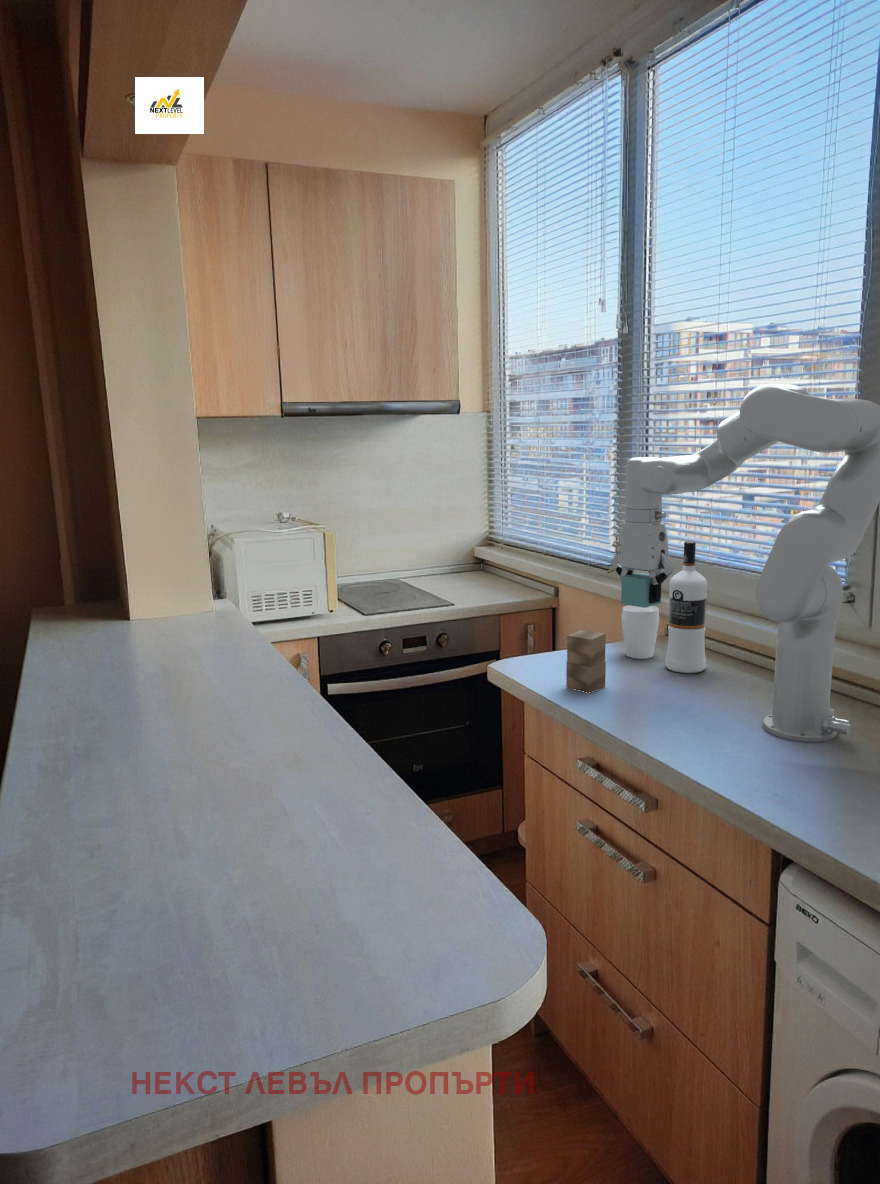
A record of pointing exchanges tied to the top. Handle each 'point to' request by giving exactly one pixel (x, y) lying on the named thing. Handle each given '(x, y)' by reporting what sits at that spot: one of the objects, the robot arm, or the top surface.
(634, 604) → the teal block
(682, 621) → the vodka
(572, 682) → the tower base
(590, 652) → the tower mid
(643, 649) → the cup
